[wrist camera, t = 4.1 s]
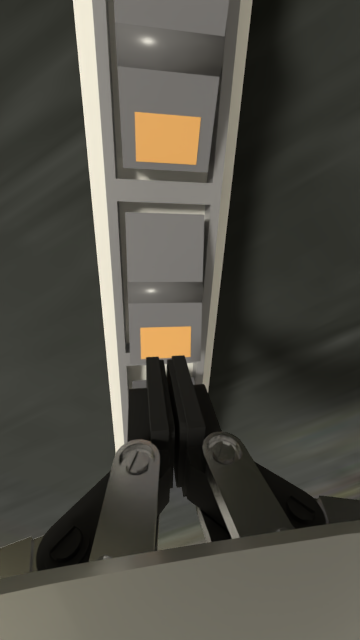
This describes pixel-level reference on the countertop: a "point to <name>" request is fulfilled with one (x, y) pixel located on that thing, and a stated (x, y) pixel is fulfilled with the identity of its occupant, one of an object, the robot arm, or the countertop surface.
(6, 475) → the countertop surface
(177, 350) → the rocker
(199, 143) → the rocker
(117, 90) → the power strip
